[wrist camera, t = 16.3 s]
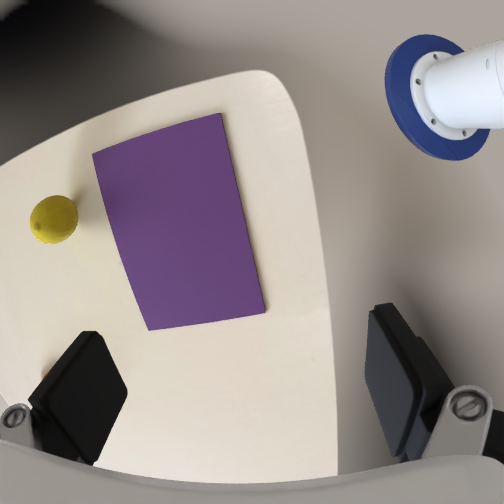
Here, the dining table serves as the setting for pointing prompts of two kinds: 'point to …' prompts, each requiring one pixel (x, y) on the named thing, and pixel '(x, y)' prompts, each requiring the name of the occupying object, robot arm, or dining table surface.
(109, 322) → the dining table surface
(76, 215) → the lemon
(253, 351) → the dining table surface
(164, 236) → the cloth
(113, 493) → the robot arm
